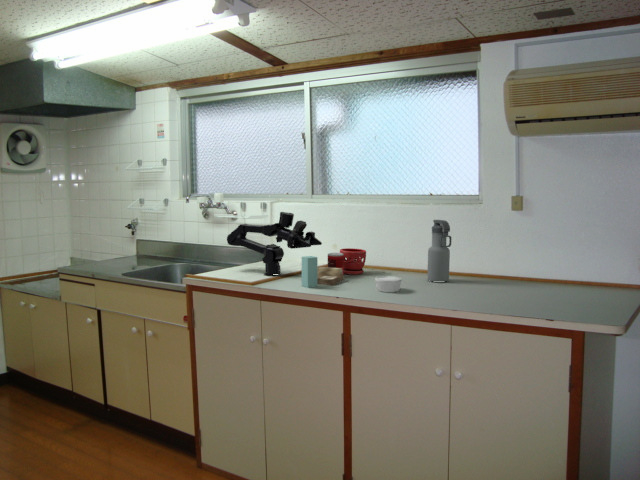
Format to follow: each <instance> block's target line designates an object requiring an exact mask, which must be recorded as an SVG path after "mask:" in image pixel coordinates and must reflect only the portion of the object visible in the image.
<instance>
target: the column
mask: <svg viewBox="0 0 640 480" xmlns="http://www.w3.org/2000/svg"><path fill="white" fill-rule="evenodd" d="M317 267H318V256H313V255H305V256H301V287H304V288H306V289H310V288H318V284H317Z"/></svg>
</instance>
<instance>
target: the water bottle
mask: <svg viewBox="0 0 640 480" xmlns="http://www.w3.org/2000/svg"><path fill="white" fill-rule="evenodd" d="M432 221H433V226H431V246H430V247H428V249H427V278H426V279H427V281H428V280H430V281H448V280H449V281H450V255H451V253H450V249H449V248H450V247H451V246H452V236H451V235H449V232H451V227H450V224H449V222H448V221H447V220H445V219H433V220H432ZM447 238H448V239H449V244H448V245H447ZM430 281H429V282H430ZM449 281H448V282H449Z"/></svg>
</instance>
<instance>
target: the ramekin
mask: <svg viewBox="0 0 640 480" xmlns="http://www.w3.org/2000/svg"><path fill="white" fill-rule="evenodd" d="M374 280H375V285H376V290H377V291H378V292H380V291H383V292H382V293H389V292H391V293H396V292H395V291H398V292H399V291H400V289H401V285H402V278H401V277H399V276H388V275H387V276H382V275H381V276H376V277H375V278H374Z"/></svg>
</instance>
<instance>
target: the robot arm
mask: <svg viewBox="0 0 640 480" xmlns="http://www.w3.org/2000/svg"><path fill="white" fill-rule="evenodd" d="M294 216H295V214H294V213H292V212H286V211H280V212H279V220H278V222H276V223H273V224H265V225H262V224H261V225H260V224H248V223H240V224H239V225H238V226H237V227H236V228H235V229H234V230H232V231H231V232H230V233H229V234H228V235H227V237H226V241H227V245H230V246H233V247H242V248H246V249H248V250H250V251H253V252H256V253H259V254H262V255H263V256H264V257H263V258H262V263H263V264H265V267H264V269H265V270H264V271H265V273H264V274H263V276H269V275H273V274H280V273H281V265H280V263H281V262H282V260H283V257H284V255H285V252H284V249H283V247H281V245H277V244H274V243H272V244H267V245H266V244H262V243H260V242H257V241H254V240H252V239H248V238H247V234H248V233H256V234H262V235H264V236H265V237H266V236H267V237H275V240H276V243H281V242H283V241H286V245H287V246H286V247H287V248H289V249H302V248H311V247H312V246H321V245H322V244H323V243H322V241H321V240H319V239H318V238H316V232H314V231H312V230H311V231H307V232H304V230H305V229H306V228H307V226H308V225H307V224H308V223H306V222H307V221H304V220H297V221H296V222H295V224H294V226H293V221H294ZM292 226H293V228H292V229H290V227H292ZM280 275H281V274H280Z"/></svg>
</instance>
